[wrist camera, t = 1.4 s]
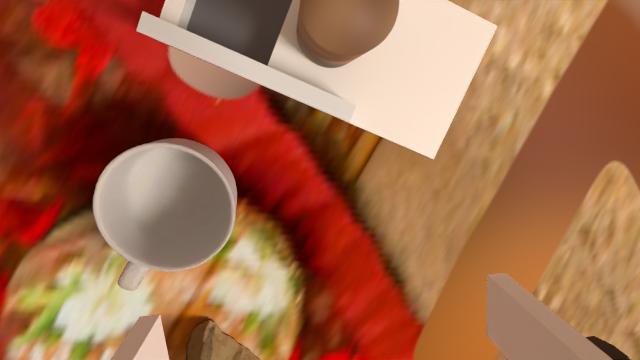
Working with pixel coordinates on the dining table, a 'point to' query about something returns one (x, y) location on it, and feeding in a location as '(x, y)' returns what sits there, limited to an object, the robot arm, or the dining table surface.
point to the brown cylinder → (343, 28)
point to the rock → (214, 345)
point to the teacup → (165, 207)
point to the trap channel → (351, 79)
